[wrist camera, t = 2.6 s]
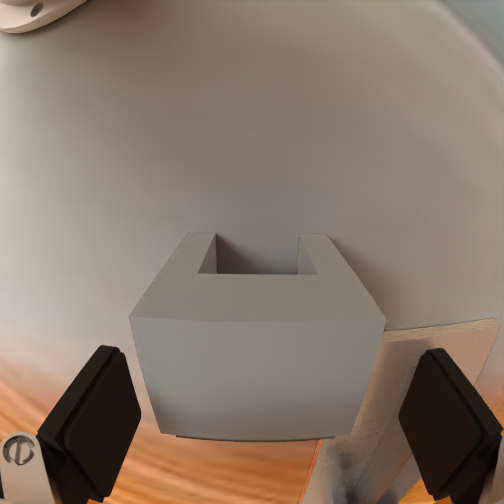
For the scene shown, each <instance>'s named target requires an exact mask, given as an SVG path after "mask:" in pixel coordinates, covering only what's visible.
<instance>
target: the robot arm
mask: <svg viewBox="0 0 504 504" xmlns="http://www.w3.org/2000/svg"><path fill="white" fill-rule="evenodd" d="M86 1H87V0H0V31H4V32H7V33H22V32H27V31H32V30H34V29H37V28H39V27H42V26H44V25H47V24H49V23H51V22H53V21H54V20H56V19H58V18H60V17H62V16H64V15H66V14H67V13H69V12H70V11H72V10H73V9H75V8H76V7H78V6H79V5H81V4H83V3H84V2H86ZM398 418H399V422H400V425H401V427H402V429H403V432H404V434H405V436H406V439H407V441H408V444H409V446H410V448H411V451H412V453H413V456H414V458H415V461H416V463H417V466H418V468H419V471H420V474H421V476H422V479H423V481H424V484H425V487H426V489H427V492H428V493H429V494H430V495H433V498H434V501H437V500H440V499H443V498H445V497H448V496H449V495H450V498H451V500H452V501H451V504H504V436H503V437H502V435H501V434H500V433H501V432H502V431H503V428H502V426H501V425H500V423H499V422H498V420H497V419H496V417H495V416H494V414H493V413H492V411H491V410H490V409H489V407H488V406H487V404H486V403H485V402H484V400H483V399H482V397H481V396H480V395H479V393H478V392H477V391H476V389H475V388H474V387H473V385H472V384H471V383H470V381H469V380H468V379H467V377H466V376H465V375H464V373H463V372H462V371H461V369H460V368H459V367H458V366H457V364H456V363H455V362H454V361H453V359H452V358H451V357H450V355H449V354H448V353H447V352H446V350H445V349H443V348H435V349H428V350H426V351H425V353H424V354H423V355H421V356H420V359H419V362H418V364H417V367H416V370H415V373H414V376H413V378H412V381H411V384H410V386H409V389H408V391H407V394H406V396H405V399H404V401H403V404H402V406H401V408H400V411H399V415H398ZM140 420H141V409H140V406H139V403H138V400H137V397H136V393H135V390H134V387H133V383H132V380H131V376H130V372H129V369H128V365H127V361H126V357H125V354H124V353H122V352H120V350H119V348H117V347H112V346H105V345H101V346H100V347H98V349H97V350H96V351H95V353H94V354H93V355H92V357H91V358H90V359H89V360H88V362H87V363H86V364H85V366H84V367H83V368H82V370H81V371H80V372H79V374H78V375H77V376H76V378H75V379H74V380H73V382H72V383H71V385H70V386H69V387H68V389H67V390H66V391H65V393H64V394H63V396H62V397H61V398H60V400H59V401H58V402H57V404H56V405H55V407H54V408H53V410H52V411H51V412H50V414H49V415H48V417H47V418H46V420H45V421H44V422H43V424H42V425H41V427H40V428H39V430H38V431H37V432H38V434H37V435H36V437H34V436H33V435H32V434H30V433H28V432H23V431H21V432H14V433H11V434H9V435H8V436H6V437H5V438H4V439H3V440H2V442H1V444H0V504H87V502H88V499H91V500H94V501H97V502H100V503H103V500H104V498H105V497H109V496H110V494H111V492H112V489H113V487H114V484H115V482H116V479H117V476H118V474H119V471H120V469H121V466H122V464H123V461H124V459H125V456H126V454H127V452H128V449H129V447H130V444H131V442H132V439H133V437H134V434H135V432H136V430H137V427H138V425H139V422H140Z"/></svg>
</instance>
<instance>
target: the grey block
mask: <svg viewBox="0 0 504 504" xmlns="http://www.w3.org/2000/svg"><path fill="white" fill-rule="evenodd" d="M129 319H130V324H131V328H132V333H133V337H134V342H135V346H136V350H137V354H138V358H139V362H140V366H141V370H142V373H143V377H144V381H145V384H146V388H147V391H148V394H149V398H150V401H151V404H152V407H153V411H154V414H155V417H156V420H157V423H158V426H159V429H160V432H161V433H163V434H171V435H176V437H181V438H190V439H201V440H214V441H234V442H288V441H307V440H320V439H331V438H335V436H342V435H350V434H351V431H352V429H353V426H354V423H355V421H356V418H357V415H358V413H359V410H360V407H361V404H362V401H363V398H364V396H365V393H366V390H367V386H368V383H369V380H370V377H371V374H372V371H373V367H374V364H375V361H376V357H377V354H378V350H379V346H380V343H381V339H382V335H383V331H384V327H385V323H386V319H387V318H386V317H385V315H384V314H383V312H382V311H381V309H380V308H379V306H378V305H377V304H376V302H375V301H374V299H373V298H372V296H371V295H370V294H369V292H368V291H367V289H366V288H365V286H364V285H363V284H362V282H361V281H360V279H359V278H358V277H357V275H356V274H355V272H354V271H353V270H352V268H351V267H350V266H349V264H348V263H347V262H346V260H345V259H344V257H343V256H342V255H341V253H340V252H339V251H338V249H337V248H336V247H335V245H334V244H333V243H332V241H331V240H330V239H329V237H328V236H327V235H326V234H299V244H298V261H297V275H269V274H217V261H216V233H188V234H187V235H186V237H185V238H184V239H183V241H182V242H181V244H180V245H179V246H178V248H177V249H176V250H175V252H174V253H173V254H172V256H171V257H170V258H169V260H168V261H167V263H166V264H165V265H164V267H163V268H162V270H161V271H160V272H159V274H158V275H157V277H156V278H155V279H154V281H153V282H152V284H151V285H150V286H149V288H148V289H147V291H146V292H145V294H144V295H143V297H142V298H141V299H140V301H139V302H138V304H137V305H136V307H135V308H134V310H133V311H132V313H131V314H130V316H129Z"/></svg>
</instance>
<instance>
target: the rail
mask: <svg viewBox="0 0 504 504" xmlns="http://www.w3.org/2000/svg"><path fill="white" fill-rule="evenodd" d="M500 327H501V325H500V324H499V323H498V322H497V321H495V320H494V319H493V318H490V319H484V320H477V321H471V322H464V323H457V324H449V325H441V326H433V327H424V328H414V329H404V330H393V331H383V335H382V339H381V343H380V346H379V350H378V354H377V357H376V361H375V364H374V367H373V371H372V374H371V377H370V380H369V383H368V386H367V390H366V393H365V396H364V398H363V401H362V404H361V407H360V410H359V413H358V415H357V418H356V421H355V423H354V426H353V429H352V431H351V434H350V435H342V436H335V438H331V439H320V440H318V443H317V446H316V449H315V453H314V456H313V459H312V462H311V466H310V469H309V472H308V475H307V478H306V481H305V484H304V487H303V489H302V492H301V495H300V498H299V501H298V503H297V504H399V501H400V500H401V498H402V497H403V496H404V495H405V494H406V493H407V492H408V491H409V490H410V489H411V488H412V486H413V485H414V484H415V483H416V482H417V481H418V479H419V478H420V477H421V474H420V471H419V468H418V466H417V463H416V461H415V458H414V456H413V453H412V451H411V448H410V446H409V444H408V441H407V439H406V436H405V434H404V432H403V429H402V427H401V425H400V422H399V418H398V415H399V411H400V408H401V406H402V404H403V401H404V399H405V396H406V394H407V391H408V389H409V386H410V384H411V381H412V378H413V376H414V373H415V370H416V367H417V364H418V362H419V359H420V356H421V355H423V354H424V353H425V351H426V350H428V349H435V348H443V349H445V350H446V352H447V353H448V354H449V355H450V357H451V358H452V359H453V361H454V362H455V363H456V364H457V366H458V367H459V368H460V369H461V371H462V372H463V373H464V375H465V376H466V377H467V379H468V380H469V381H470V383H471V384H472V385H473V386H474V384H475V382H476V380H477V378H478V376H479V374H480V372H481V370H482V368H483V366H484V364H485V362H486V360H487V358H488V355H489V353H490V351H491V349H492V346H493V344H494V341H495V339H496V337H497V334H498V332H499V329H500Z"/></svg>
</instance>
